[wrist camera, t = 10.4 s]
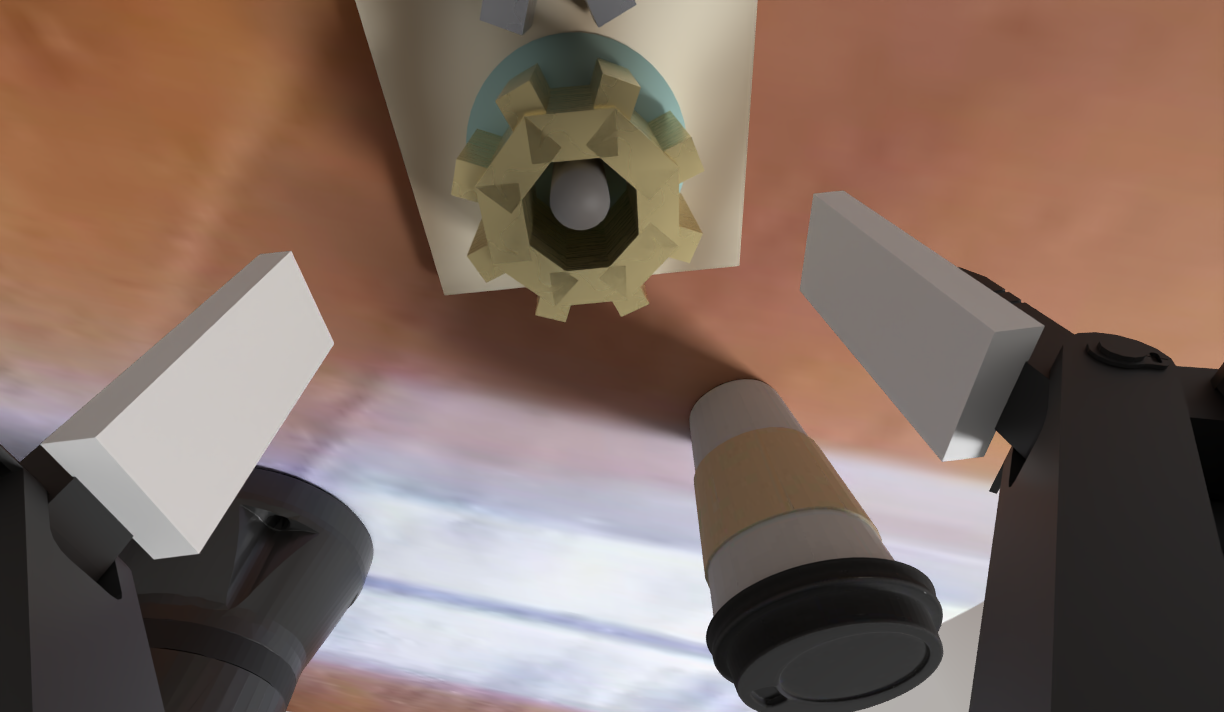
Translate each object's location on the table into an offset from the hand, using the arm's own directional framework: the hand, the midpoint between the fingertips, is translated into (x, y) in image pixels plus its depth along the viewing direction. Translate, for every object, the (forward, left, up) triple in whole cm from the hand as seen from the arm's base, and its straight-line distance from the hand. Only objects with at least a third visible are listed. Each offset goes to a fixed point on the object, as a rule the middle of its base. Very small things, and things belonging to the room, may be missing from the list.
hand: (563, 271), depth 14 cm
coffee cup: (+8, -16, -11) cm, 22 cm away
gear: (0, 0, -10) cm, 10 cm away
